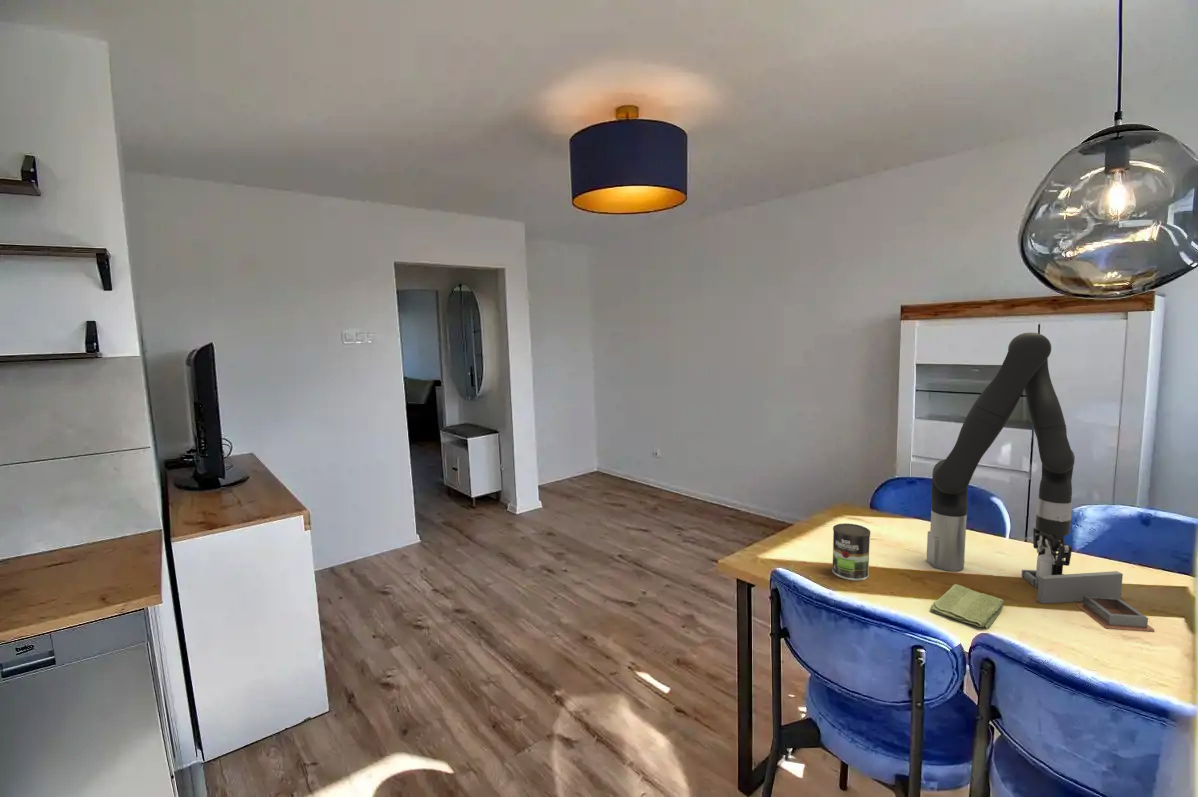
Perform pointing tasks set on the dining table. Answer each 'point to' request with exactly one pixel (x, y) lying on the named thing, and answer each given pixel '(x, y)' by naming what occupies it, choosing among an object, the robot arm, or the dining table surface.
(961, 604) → the washcloth
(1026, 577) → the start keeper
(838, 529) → the coffee can
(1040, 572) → the eye dropper bottle
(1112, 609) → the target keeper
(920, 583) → the dining table surface
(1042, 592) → the grey divider panel
